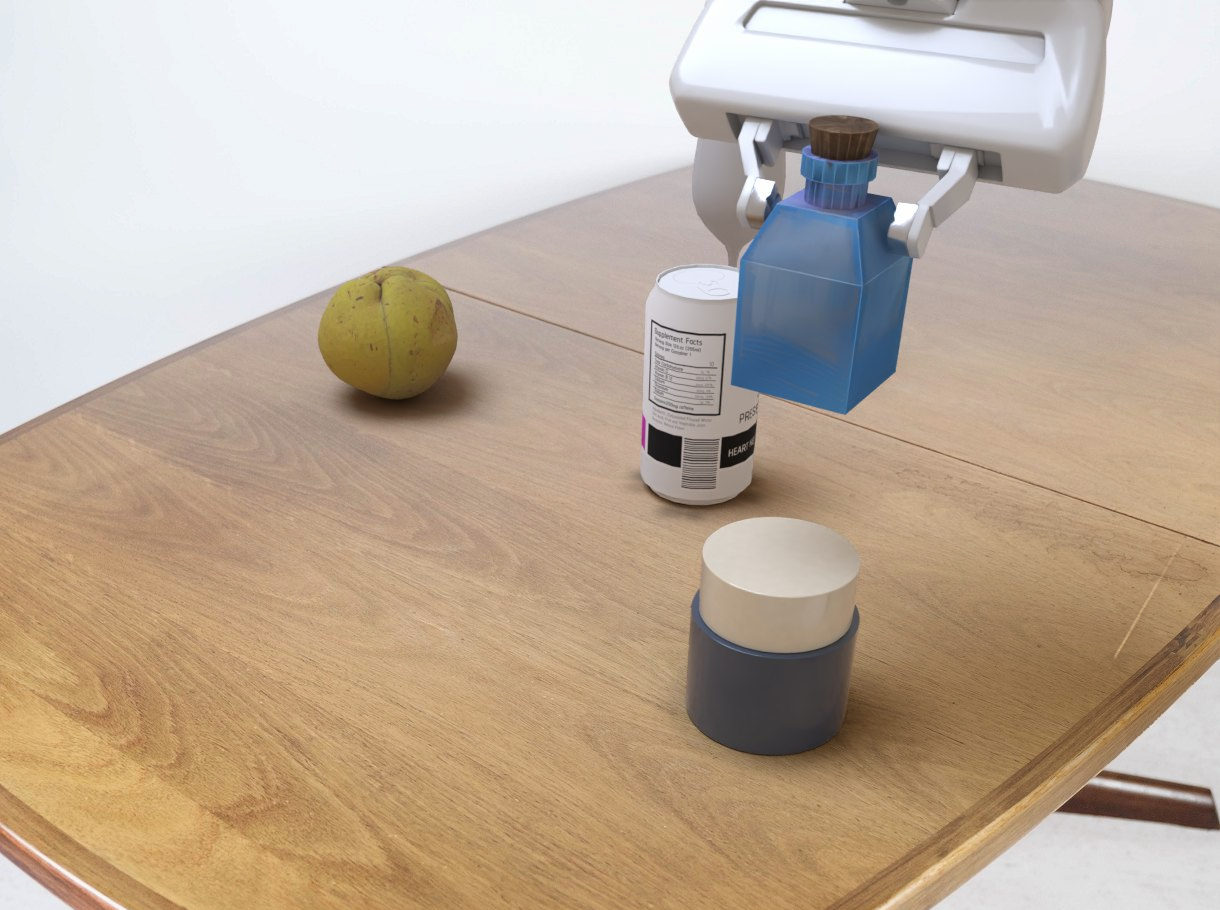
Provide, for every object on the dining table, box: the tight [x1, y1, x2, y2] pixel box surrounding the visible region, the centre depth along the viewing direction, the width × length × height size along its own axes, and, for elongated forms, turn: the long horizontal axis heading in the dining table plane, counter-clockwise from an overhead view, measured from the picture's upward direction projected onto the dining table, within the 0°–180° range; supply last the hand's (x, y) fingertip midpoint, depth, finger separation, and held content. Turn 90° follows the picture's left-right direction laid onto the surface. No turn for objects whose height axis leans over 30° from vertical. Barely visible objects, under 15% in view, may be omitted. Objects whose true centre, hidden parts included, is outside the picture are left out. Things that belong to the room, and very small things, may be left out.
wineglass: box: [691, 138, 787, 268], centre depth 112 cm, size 8×8×21 cm
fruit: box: [317, 266, 459, 400], centre depth 107 cm, size 11×12×10 cm
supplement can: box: [640, 263, 760, 506], centre depth 94 cm, size 8×8×15 cm
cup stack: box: [684, 516, 862, 756], centre depth 74 cm, size 9×9×10 cm
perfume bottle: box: [731, 115, 914, 416], centre depth 63 cm, size 6×6×12 cm
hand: (827, 236), depth 62 cm, fingers closed on perfume bottle, 6 cm apart
